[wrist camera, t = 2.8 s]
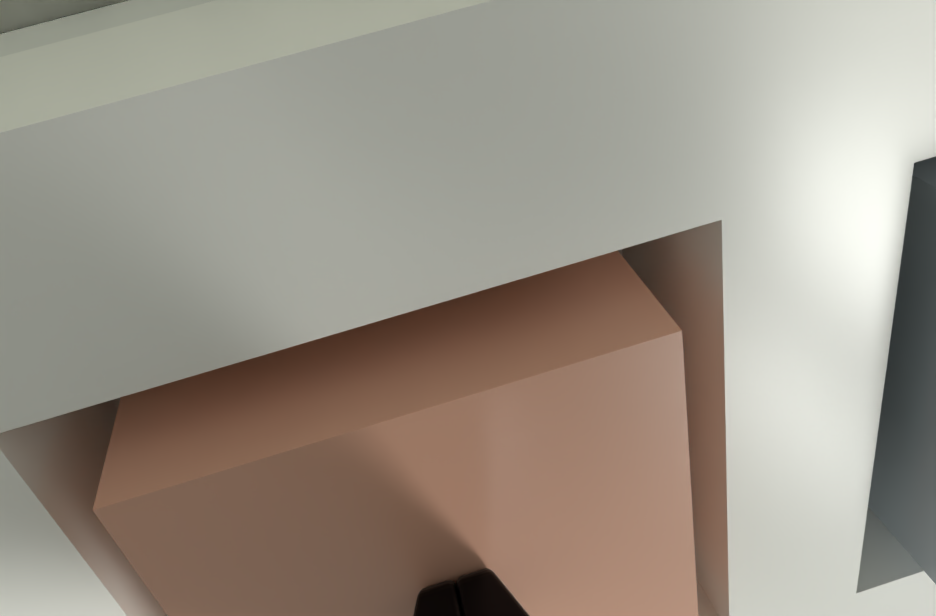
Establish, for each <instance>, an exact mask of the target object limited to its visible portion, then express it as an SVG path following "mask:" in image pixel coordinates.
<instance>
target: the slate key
mask: <svg viewBox="0 0 936 616" xmlns="http://www.w3.org/2000/svg"><path fill="white" fill-rule="evenodd" d="M868 507H869V508H870V509H871V510H872V512H873V513H874V514H875V515H876V516H877V517H878V518H879V520H880V521H881V522H882V523H883V524H884V525H885V527H886V528H887V529H888V530H889V531H890V532H891V533H892V535H893V536H894V537H895V538H896V539H897V540H898V541H899V543H900V544H901V545H902V546H903V547H904V548H905V550H906V551H907V552H908V553H909V554H910V555H911V556H912V558H913V559H914V560H915V561H916V562H917V563H918V565H919V566H920V567H921V568H922V569H923V570H924V571H925V573H926V574H927V575H928V576H929V577H930V578H931V579H932V581H933V582H934V583H935V584H936V156H935V157H932V158H929V159H925V160H922V161H918V162H915V163H914V167H913V175H912V182H911V190H910V197H909V205H908V212H907V219H906V227H905V234H904V242H903V249H902V257H901V264H900V271H899V279H898V286H897V294H896V301H895V309H894V316H893V323H892V331H891V338H890V346H889V353H888V361H887V368H886V376H885V383H884V390H883V398H882V405H881V413H880V420H879V428H878V435H877V442H876V450H875V457H874V465H873V472H872V480H871V487H870V494H869V502H868Z"/></svg>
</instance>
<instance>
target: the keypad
mask: <svg viewBox="0 0 936 616" xmlns="http://www.w3.org/2000/svg"><path fill="white" fill-rule="evenodd" d="M935 156H936V0H129V1H125V2H121V3H117V4H113V5H109V6H106V7H102V8H98V9H94V10H90V11H86V12H83V13H79V14H75V15H71V16H67V17H63V18H60V19H56V20H52V21H48V22H44V23H40V24H37V25H33V26H29V27H25V28H21V29H17V30H14V31H10V32H6V33H2V34H0V616H168V615H167V614H166V613H165V611H164V610H163V608H162V607H161V606H160V604H159V603H158V601H157V600H156V599H155V597H154V596H153V594H152V593H151V592H150V590H149V589H148V587H147V586H146V585H145V583H144V582H143V580H142V579H141V578H140V576H139V575H138V573H137V572H136V571H135V569H134V568H133V566H132V565H131V564H130V562H129V561H128V559H127V558H126V557H125V555H124V554H123V552H122V551H121V549H120V548H119V547H118V545H117V544H116V542H115V541H114V540H113V538H112V537H111V535H110V534H109V533H108V531H107V530H106V528H105V527H104V526H103V524H102V523H101V521H100V520H99V519H98V517H97V516H96V514H95V513H94V512H93V506H94V502H95V498H96V494H97V490H98V486H99V482H100V478H101V474H102V470H103V466H104V462H105V458H106V454H107V450H108V446H109V442H110V438H111V434H112V430H113V426H114V422H115V418H116V414H117V410H118V406H119V402H120V398H121V397H123V396H127V395H130V394H134V393H137V392H140V391H144V390H147V389H150V388H154V387H157V386H161V385H164V384H167V383H171V382H174V381H178V380H181V379H184V378H188V377H191V376H194V375H198V374H201V373H205V372H208V371H211V370H215V369H218V368H222V367H225V366H228V365H232V364H235V363H238V362H242V361H245V360H249V359H252V358H255V357H259V356H262V355H266V354H269V353H272V352H276V351H279V350H282V349H286V348H289V347H293V346H296V345H299V344H303V343H306V342H309V341H313V340H316V339H320V338H323V337H326V336H330V335H333V334H337V333H340V332H343V331H347V330H350V329H353V328H357V327H360V326H364V325H367V324H370V323H374V322H377V321H381V320H384V319H387V318H391V317H394V316H397V315H401V314H404V313H408V312H411V311H414V310H418V309H421V308H425V307H428V306H431V305H435V304H438V303H441V302H445V301H448V300H452V299H455V298H458V297H462V296H465V295H469V294H472V293H475V292H479V291H482V290H485V289H489V288H492V287H496V286H499V285H502V284H506V283H509V282H512V281H516V280H519V279H523V278H526V277H529V276H533V275H536V274H540V273H543V272H546V271H550V270H553V269H556V268H560V267H563V266H567V265H570V264H573V263H577V262H580V261H584V260H587V259H590V258H594V257H597V256H600V255H604V254H607V253H611V252H614V251H617V250H618V251H619V253H620V254H621V255H622V256H623V258H624V259H625V260H626V261H627V263H628V264H629V265H630V266H631V268H632V269H633V270H634V271H635V273H636V274H637V275H638V276H639V278H640V279H641V280H642V281H643V283H644V284H645V285H646V286H647V287H648V289H649V290H650V291H651V292H652V294H653V295H654V296H655V297H656V299H657V300H658V301H659V302H660V304H661V305H662V306H663V307H664V309H665V310H666V311H667V312H668V314H669V315H670V316H671V317H672V319H673V320H674V321H675V322H676V324H677V325H678V326H679V327H680V329H681V330H682V337H683V354H684V372H685V389H686V407H687V425H688V442H689V460H690V477H691V495H692V512H693V530H694V548H695V565H696V583H697V600H698V616H936V584H935V583H934V582H933V581H932V579H931V578H930V577H929V576H928V575H927V574H926V573H925V571H924V570H923V569H922V568H921V567H920V566H919V565H918V563H917V562H916V561H915V560H914V559H913V558H912V556H911V555H910V554H909V553H908V552H907V551H906V550H905V548H904V547H903V546H902V545H901V544H900V543H899V541H898V540H897V539H896V538H895V537H894V536H893V535H892V533H891V532H890V531H889V530H888V529H887V528H886V527H885V525H884V524H883V523H882V522H881V521H880V520H879V518H878V517H877V516H876V515H875V514H874V513H873V512H872V510H871V509H870V508H869V507H868V502H869V494H870V487H871V480H872V472H873V465H874V457H875V450H876V442H877V435H878V428H879V420H880V413H881V405H882V398H883V390H884V383H885V376H886V368H887V361H888V353H889V346H890V338H891V331H892V323H893V316H894V309H895V301H896V294H897V286H898V279H899V271H900V264H901V257H902V249H903V242H904V234H905V227H906V219H907V212H908V205H909V197H910V190H911V182H912V175H913V167H914V163H915V162H918V161H922V160H925V159H929V158H932V157H935Z"/></svg>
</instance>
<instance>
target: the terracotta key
mask: <svg viewBox="0 0 936 616" xmlns="http://www.w3.org/2000/svg"><path fill="white" fill-rule="evenodd" d="M93 512H94V513H95V514H96V516H97V517H98V519H99V520H100V521H101V523H102V524H103V526H104V527H105V528H106V530H107V531H108V533H109V534H110V535H111V537H112V538H113V540H114V541H115V542H116V544H117V545H118V547H119V548H120V549H121V551H122V552H123V554H124V555H125V557H126V558H127V559H128V561H129V562H130V564H131V565H132V566H133V568H134V569H135V571H136V572H137V573H138V575H139V576H140V578H141V579H142V580H143V582H144V583H145V585H146V586H147V587H148V589H149V590H150V592H151V593H152V594H153V596H154V597H155V599H156V600H157V601H158V603H159V604H160V606H161V607H162V608H163V610H164V611H165V613H166V614H167V615H168V616H413V614H414V609H415V604H416V600H417V596H418V594H419V592H420V591H421V590H422V589H423V588H425V587H429V586H432V585H435V584H438V583H441V582H444V581H447V580H451V581H453V582H455V584H456V582H457V579H458V578H459V577H461V576H463V575H466V574H469V573H472V572H475V571H478V570H482V569H485V568H487V569H490V570H492V571H493V572H494V573H495V574H496V575H497V576H498V578H499V579H500V580H501V581H502V582H503V584H504V585H505V586H506V587H507V589H508V590H509V591H510V592H511V593H512V595H513V596H514V597H515V598H516V600H517V601H518V602H519V603H520V604H521V606H522V607H523V608H524V609H525V611H526V612H527V613H528V614H529V615H530V616H698V600H697V583H696V565H695V548H694V530H693V512H692V495H691V477H690V460H689V442H688V425H687V407H686V389H685V372H684V354H683V337H682V330H681V329H680V327H679V326H678V325H677V324H676V322H675V321H674V320H673V319H672V317H671V316H670V315H669V314H668V312H667V311H666V310H665V309H664V307H663V306H662V305H661V304H660V302H659V301H658V300H657V299H656V297H655V296H654V295H653V294H652V292H651V291H650V290H649V289H648V287H647V286H646V285H645V284H644V283H643V281H642V280H641V279H640V278H639V276H638V275H637V274H636V273H635V271H634V270H633V269H632V268H631V266H630V265H629V264H628V263H627V261H626V260H625V259H624V258H623V256H622V255H621V254H620V253H619V251H618V250H617V251H614V252H611V253H607V254H604V255H600V256H597V257H594V258H590V259H587V260H584V261H580V262H577V263H573V264H570V265H567V266H563V267H560V268H556V269H553V270H550V271H546V272H543V273H540V274H536V275H533V276H529V277H526V278H523V279H519V280H516V281H512V282H509V283H506V284H502V285H499V286H496V287H492V288H489V289H485V290H482V291H479V292H475V293H472V294H469V295H465V296H462V297H458V298H455V299H452V300H448V301H445V302H441V303H438V304H435V305H431V306H428V307H425V308H421V309H418V310H414V311H411V312H408V313H404V314H401V315H397V316H394V317H391V318H387V319H384V320H381V321H377V322H374V323H370V324H367V325H364V326H360V327H357V328H353V329H350V330H347V331H343V332H340V333H337V334H333V335H330V336H326V337H323V338H320V339H316V340H313V341H309V342H306V343H303V344H299V345H296V346H293V347H289V348H286V349H282V350H279V351H276V352H272V353H269V354H266V355H262V356H259V357H255V358H252V359H249V360H245V361H242V362H238V363H235V364H232V365H228V366H225V367H222V368H218V369H215V370H211V371H208V372H205V373H201V374H198V375H194V376H191V377H188V378H184V379H181V380H178V381H174V382H171V383H167V384H164V385H161V386H157V387H154V388H150V389H147V390H144V391H140V392H137V393H134V394H130V395H127V396H123V397H121V398H120V402H119V406H118V410H117V414H116V418H115V422H114V426H113V430H112V434H111V438H110V442H109V446H108V450H107V454H106V458H105V462H104V466H103V470H102V474H101V478H100V482H99V486H98V490H97V494H96V498H95V502H94V506H93ZM456 586H457V585H456Z"/></svg>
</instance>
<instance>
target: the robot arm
mask: <svg viewBox="0 0 936 616" xmlns="http://www.w3.org/2000/svg"><path fill="white" fill-rule="evenodd" d="M456 585H457V586H456ZM413 616H530V615H529V614H528V613H527V612H526V611H525V609H524V608H523V607H522V606H521V604H520V603H519V602H518V601H517V600H516V598H515V597H514V596H513V595H512V593H511V592H510V591H509V590H508V589H507V587H506V586H505V585H504V584H503V582H502V581H501V580H500V579H499V578H498V576H497V575H496V574H495V573H494V572H493V571H492V570H490V569H487V568H485V569H482V570H478V571H475V572H472V573H469V574H466V575H463V576H461V577H459V578H458V579H457V582H456V584H455V582H453V581H451V580H447V581H444V582H441V583H438V584H435V585H432V586H429V587H425V588H423V589H422V590H421V591H420V592H419V594H418V596H417V600H416V604H415V609H414V614H413Z"/></svg>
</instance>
